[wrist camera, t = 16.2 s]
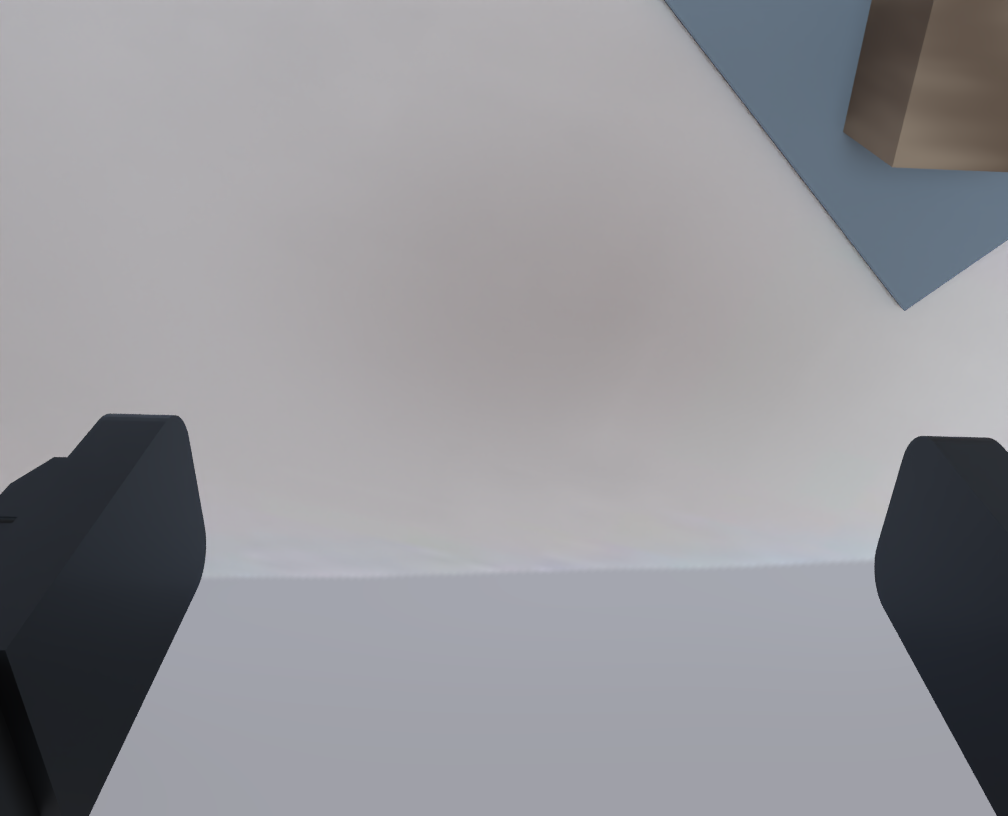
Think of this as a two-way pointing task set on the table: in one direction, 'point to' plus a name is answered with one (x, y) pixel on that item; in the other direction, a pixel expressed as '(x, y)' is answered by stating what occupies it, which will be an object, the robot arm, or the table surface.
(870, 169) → the mat
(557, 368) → the table surface
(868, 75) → the walnut block
